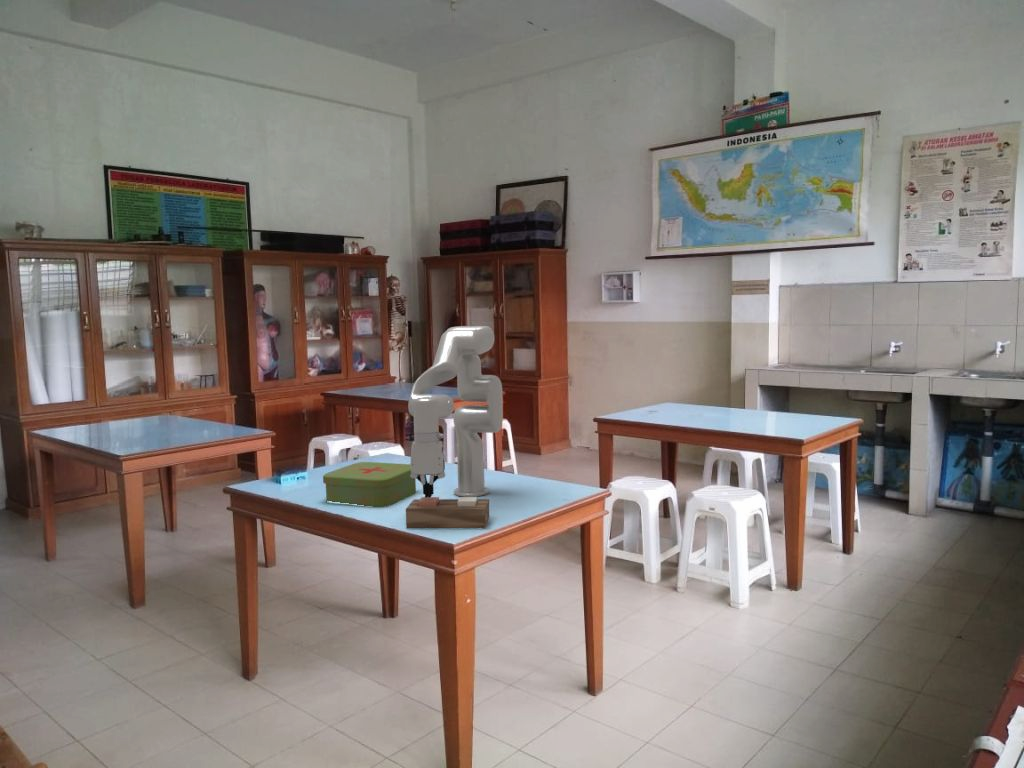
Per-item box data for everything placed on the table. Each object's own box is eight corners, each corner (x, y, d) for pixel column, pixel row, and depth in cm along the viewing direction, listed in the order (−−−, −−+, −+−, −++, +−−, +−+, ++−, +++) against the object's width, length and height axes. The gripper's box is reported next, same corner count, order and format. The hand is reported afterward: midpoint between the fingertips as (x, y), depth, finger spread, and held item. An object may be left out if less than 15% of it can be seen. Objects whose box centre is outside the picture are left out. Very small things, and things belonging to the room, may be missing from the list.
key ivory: (460, 511, 236) (460, 497, 236) (477, 511, 236) (477, 496, 235) (457, 515, 231) (457, 501, 230) (475, 515, 230) (475, 501, 230)
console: (414, 517, 241) (413, 499, 240) (489, 517, 239) (489, 499, 238) (406, 528, 229) (405, 509, 228) (485, 528, 227) (484, 508, 226)
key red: (422, 511, 237) (421, 497, 237) (439, 511, 237) (439, 497, 236) (418, 515, 232) (418, 501, 231) (436, 515, 231) (435, 501, 231)
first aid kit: (360, 487, 287) (359, 461, 286) (422, 491, 278) (421, 464, 277) (319, 504, 263) (318, 475, 262) (385, 509, 253) (384, 480, 252)
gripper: (452, 435, 235) (454, 493, 237) (405, 436, 236) (407, 494, 238) (448, 439, 227) (450, 499, 229) (399, 439, 229) (401, 499, 230)
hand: (428, 496), depth 233 cm, fingers closed
